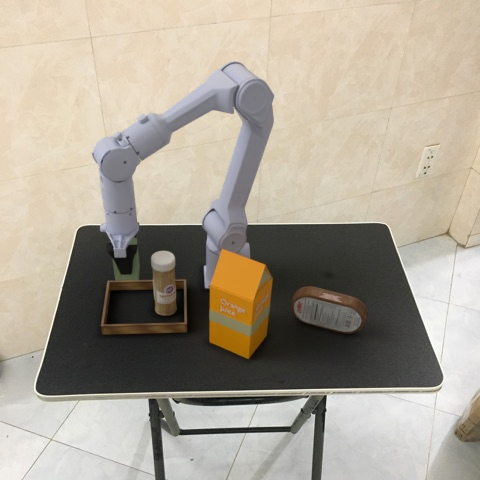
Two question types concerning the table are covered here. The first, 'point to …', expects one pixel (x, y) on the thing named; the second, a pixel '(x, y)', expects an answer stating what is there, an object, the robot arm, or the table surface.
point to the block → (134, 270)
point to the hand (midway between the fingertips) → (127, 265)
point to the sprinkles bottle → (164, 282)
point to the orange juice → (239, 303)
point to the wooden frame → (141, 327)
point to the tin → (329, 310)
